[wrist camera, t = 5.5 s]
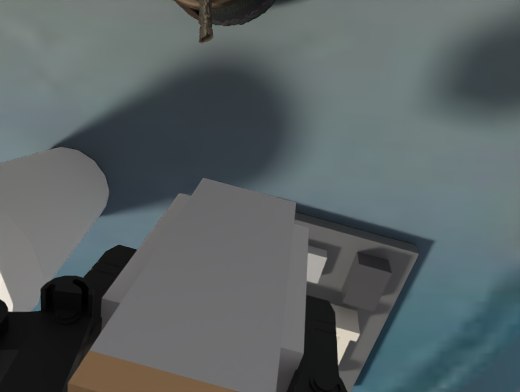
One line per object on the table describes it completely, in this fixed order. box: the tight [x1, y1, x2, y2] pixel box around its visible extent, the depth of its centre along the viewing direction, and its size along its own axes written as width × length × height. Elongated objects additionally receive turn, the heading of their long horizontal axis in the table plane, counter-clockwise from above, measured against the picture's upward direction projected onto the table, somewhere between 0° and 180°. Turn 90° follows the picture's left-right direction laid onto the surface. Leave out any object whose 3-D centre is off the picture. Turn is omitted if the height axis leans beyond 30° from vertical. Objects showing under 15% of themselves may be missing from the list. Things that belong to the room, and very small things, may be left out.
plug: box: [68, 178, 296, 392], centre depth 13 cm, size 4×4×10 cm
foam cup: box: [0, 147, 109, 312], centre depth 26 cm, size 10×9×13 cm
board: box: [294, 212, 419, 392], centre depth 32 cm, size 16×12×4 cm
